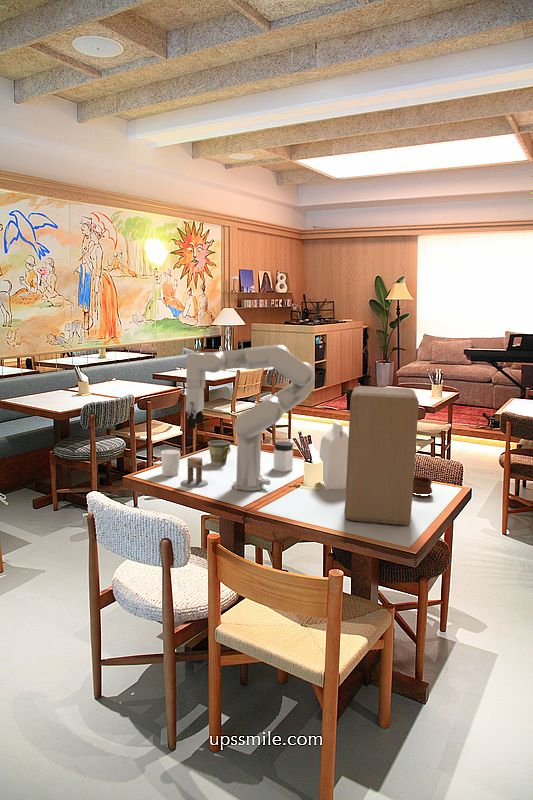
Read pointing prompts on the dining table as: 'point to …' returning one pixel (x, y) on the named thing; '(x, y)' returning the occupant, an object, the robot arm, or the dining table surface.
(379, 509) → the block
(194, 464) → the stool mini
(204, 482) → the felt mat
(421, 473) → the dining table surface
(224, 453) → the ceramic cup
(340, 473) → the milk
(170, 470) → the white cup
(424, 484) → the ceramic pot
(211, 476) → the dining table surface
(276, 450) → the jar
